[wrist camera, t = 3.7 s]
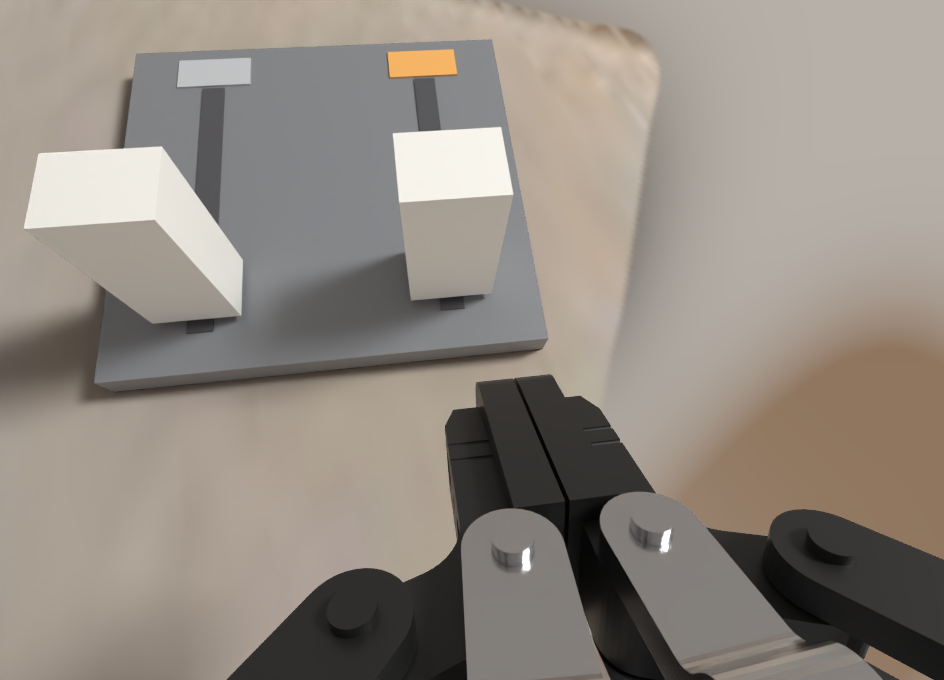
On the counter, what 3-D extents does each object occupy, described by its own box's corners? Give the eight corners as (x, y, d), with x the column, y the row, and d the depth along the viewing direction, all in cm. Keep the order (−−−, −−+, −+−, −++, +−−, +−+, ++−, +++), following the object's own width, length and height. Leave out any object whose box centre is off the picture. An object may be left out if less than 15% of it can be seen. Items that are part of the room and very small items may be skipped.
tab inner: (152, 323, 24) (23, 229, 17) (157, 266, 25) (38, 153, 18) (241, 315, 25) (154, 219, 17) (242, 259, 26) (161, 146, 18)
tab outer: (410, 300, 25) (399, 202, 18) (405, 247, 26) (392, 133, 19) (491, 293, 26) (513, 194, 18) (483, 241, 27) (501, 126, 19)
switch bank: (113, 391, 25) (92, 382, 23) (149, 75, 32) (135, 52, 30) (542, 348, 27) (548, 337, 25) (489, 60, 34) (492, 38, 32)
